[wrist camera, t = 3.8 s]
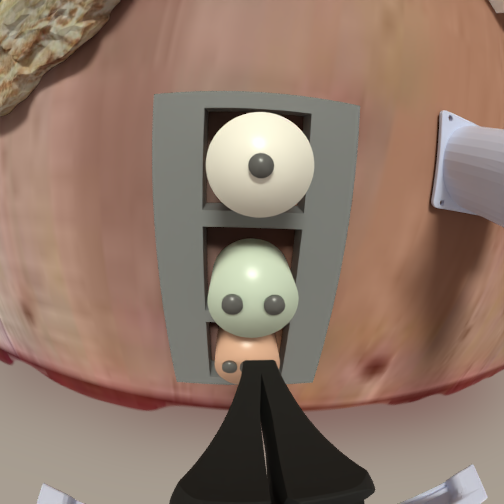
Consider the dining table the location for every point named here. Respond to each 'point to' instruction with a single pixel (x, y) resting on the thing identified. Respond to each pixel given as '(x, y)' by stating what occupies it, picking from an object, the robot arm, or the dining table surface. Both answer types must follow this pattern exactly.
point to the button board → (248, 223)
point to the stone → (42, 40)
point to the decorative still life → (497, 5)
